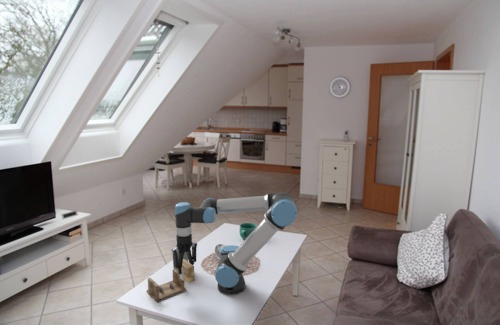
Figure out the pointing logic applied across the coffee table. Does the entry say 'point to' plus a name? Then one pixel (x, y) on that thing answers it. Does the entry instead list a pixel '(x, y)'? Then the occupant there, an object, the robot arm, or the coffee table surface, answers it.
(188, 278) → the light wooden block
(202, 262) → the coffee table surface
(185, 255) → the skincare box
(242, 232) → the mug
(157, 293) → the peg frame
